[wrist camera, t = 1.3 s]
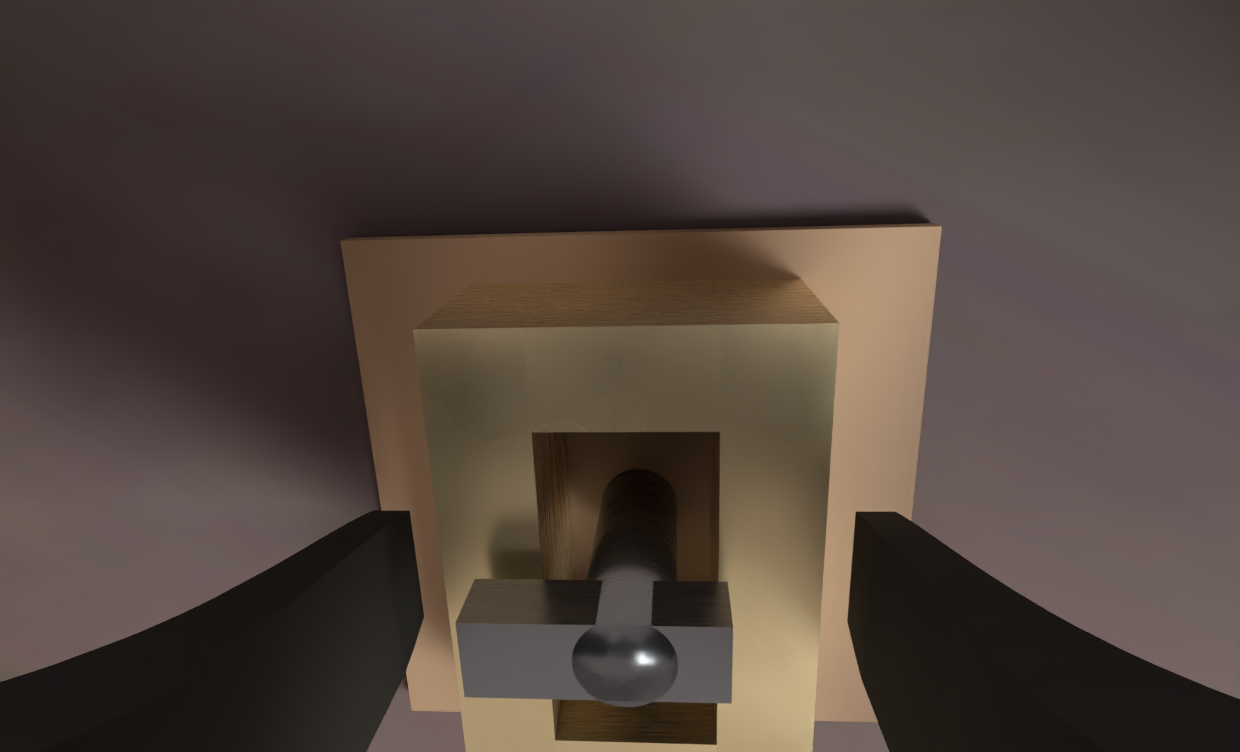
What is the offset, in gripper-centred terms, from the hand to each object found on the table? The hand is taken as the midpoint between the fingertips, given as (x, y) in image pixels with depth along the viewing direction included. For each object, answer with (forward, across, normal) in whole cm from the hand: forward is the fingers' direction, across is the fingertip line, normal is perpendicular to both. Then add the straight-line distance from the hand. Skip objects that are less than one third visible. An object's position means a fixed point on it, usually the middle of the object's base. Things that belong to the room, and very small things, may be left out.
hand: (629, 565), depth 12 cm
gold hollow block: (+2, 0, 0) cm, 2 cm away
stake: (+2, 0, 0) cm, 3 cm away
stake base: (+2, 0, 0) cm, 3 cm away
